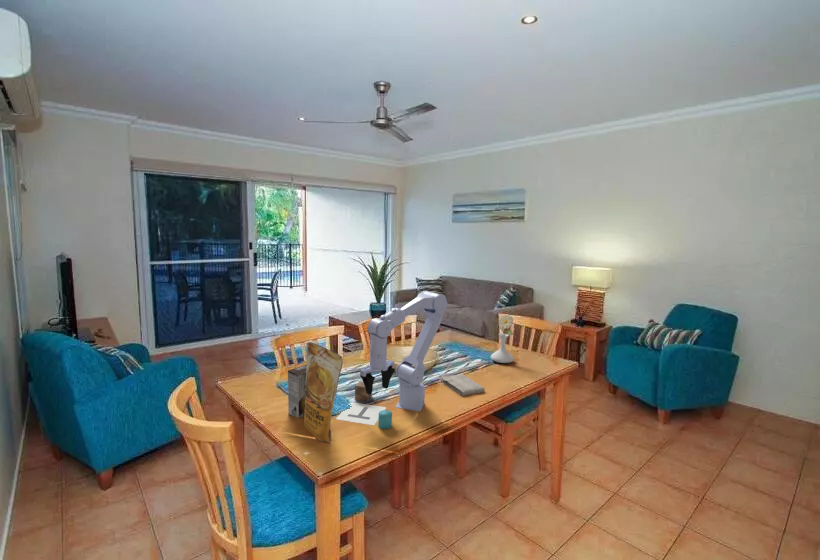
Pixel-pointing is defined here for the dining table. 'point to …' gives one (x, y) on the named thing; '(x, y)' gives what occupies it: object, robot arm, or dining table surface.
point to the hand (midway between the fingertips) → (377, 390)
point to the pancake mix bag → (320, 389)
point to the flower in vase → (503, 341)
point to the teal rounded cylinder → (385, 419)
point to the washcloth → (462, 384)
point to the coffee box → (297, 391)
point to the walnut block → (361, 392)
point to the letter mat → (361, 413)
